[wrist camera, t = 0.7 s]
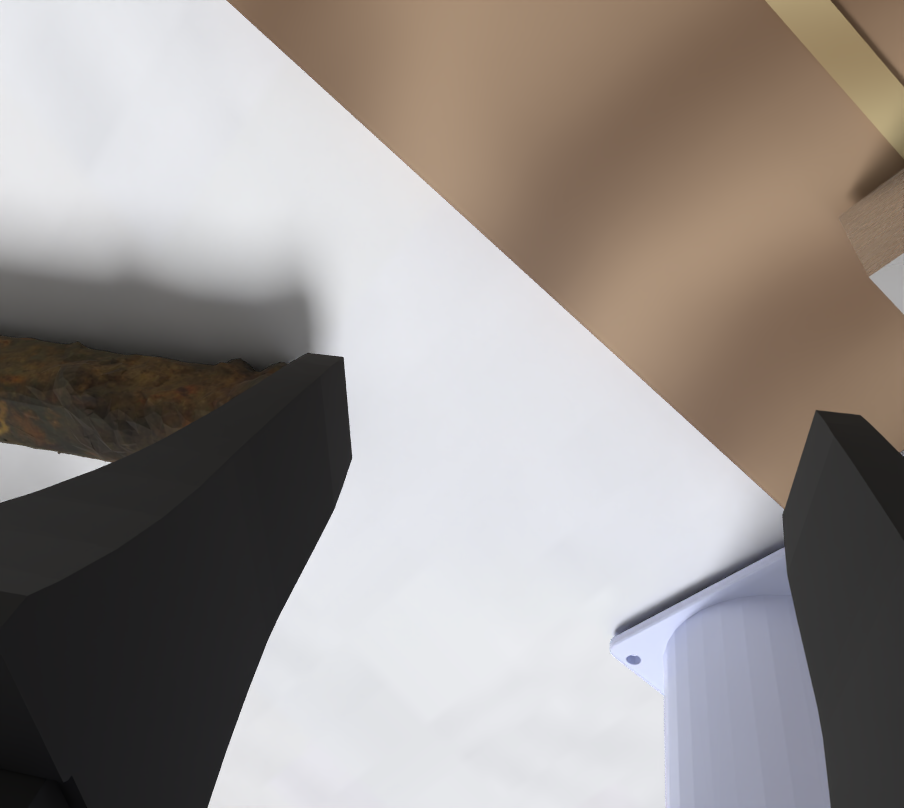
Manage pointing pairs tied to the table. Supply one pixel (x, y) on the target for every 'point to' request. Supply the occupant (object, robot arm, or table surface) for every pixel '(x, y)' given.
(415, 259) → the table surface
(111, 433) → the hand tool
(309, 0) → the wooden board
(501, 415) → the table surface
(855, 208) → the white rectangular block
